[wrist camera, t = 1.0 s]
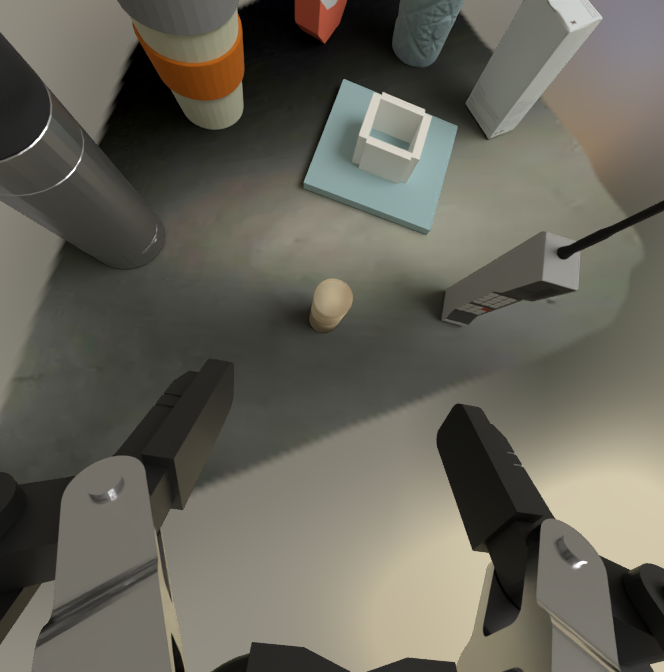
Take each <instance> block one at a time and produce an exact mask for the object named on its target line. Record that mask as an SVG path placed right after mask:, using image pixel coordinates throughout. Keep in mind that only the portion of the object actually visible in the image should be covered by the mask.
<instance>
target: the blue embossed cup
mask: <svg viewBox="0 0 664 672" xmlns="http://www.w3.org/2000/svg"><path fill="white" fill-rule="evenodd" d="M463 2H464V0H400V5H399V12H398V13H399V15H398V18H397V20H396V24H395V29H394V33H393V38H392V47H393V50H394V52H395V54H396V56H397V57H398V58H399V59H400V60H401V61H403V63H405V64H408V65H410V66H413V67H420V68H421V67H427V66H429V65H431V64H432V63H433V62H434V61H435V60H436V59H437V57H438V55H439V53H440V51H441V49H442V47H443V44H444V42H445V40H446V38H447V36H448V34H449V32H450V30H451V28H452V26H453V24H454V22H455V20H456V17H457V15H458V13H459V11H460V9H461V7H462V5H463Z"/></svg>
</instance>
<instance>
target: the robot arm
mask: <svg viewBox="0 0 664 672" xmlns="http://www.w3.org/2000/svg"><path fill="white" fill-rule="evenodd" d="M0 200H1V201H2V202H4V203H5V204H7V205H9V206H10V207H12V208H14V209H15V210H17V211H19V212H21V213H22V214H23V215H25V216H27V217H28V218H30V219H32V220H33V221H35V222H37V223H38V224H40V225H42V226H43V227H45V228H47V229H48V230H50V231H51V232H53V233H55V234H57V235H58V236H60V237H61V238H63V239H65V240H66V241H68V242H70V243H71V244H73V245H75V246H76V247H78V248H79V249H81V250H82V251H84V252H86V253H88V254H89V255H91V256H93V257H94V258H96V259H98V260H99V261H101V262H103V263H104V264H106V265H108V266H111V267H114V268H119V269H132V268H136V267H140V266H142V265H144V264H147V263H148V262H150V261H151V260H153V259H154V258H155V257H156V256H157V255H158V253H159V252H160V250H161V249H162V246H163V243H164V238H165V233H164V227H163V225H162V222H161V221H160V219H159V218H158V217H157V215H156V214H155V213H154V212H153V211H152V209H151V208H150V207H149V206H148V205H147V204H146V202H145V201H144V200H143V199H142V197H141V196H140V195H139V194H138V193H137V192H136V190H135V189H134V188H133V187H132V186H131V184H130V183H129V182H128V181H127V180H126V179H125V177H124V176H123V175H122V174H121V173H120V171H119V170H118V169H117V168H116V167H115V166H114V164H113V163H112V162H111V161H110V160H109V159H108V157H107V156H106V155H105V154H104V153H103V151H102V150H101V149H100V148H99V147H98V146H97V144H96V143H95V142H94V141H93V140H92V138H91V137H90V136H89V135H88V134H87V133H86V131H85V130H84V129H83V128H82V127H81V126H80V125H79V123H78V122H77V121H76V120H75V119H74V117H73V116H72V115H71V114H70V113H69V112H68V110H67V109H66V108H65V107H64V106H63V105H62V103H61V102H60V101H59V100H58V99H57V98H56V96H55V95H54V94H53V93H52V92H51V90H50V89H49V88H48V87H47V86H46V85H45V83H44V82H43V81H42V80H41V79H40V77H39V76H38V75H37V74H36V73H35V71H34V70H33V69H32V68H31V67H30V66H29V64H27V62H26V61H25V60H24V59H23V58H22V56H21V55H20V54H19V53H18V52H17V51H16V50H15V49H14V48H13V46H12V45H11V44H10V43H9V42H8V41H7V39H6V38H5V37H4V36H3V35H2V34H1V33H0ZM233 387H234V365H233V363H232V362H228V361H222V360H216V359H208V360H207V362H206V363H205V364H204V366H203V367H202V369H201V370H200V371H199V372H194V371H188V372H187V373H185V374H183V375H182V376H180V377H179V378H177V379H175V380H174V381H173V383H172V384H171V385H170V386H169V388H168V389H167V390H166V391H165V393H164V395H162V396H161V398H160V399H159V400H158V401H157V403H156V405H155V406H153V408H152V409H151V410H150V411H149V413H148V414H147V415H146V416H145V417H144V419H143V420H142V421H141V422H140V424H139V425H138V426H137V427H136V429H135V430H134V431H133V432H132V434H131V435H130V436H129V437H128V439H127V440H126V441H125V442H124V444H123V445H122V446H121V447H120V449H119V450H118V451H117V452H116V453H115V454H114V455H113V456H112V457H109V458H105V459H103V460H100V461H98V462H96V463H94V464H92V465H90V466H89V467H87V468H85V469H84V470H83V471H81V472H80V473H79V474H78V475H76V476H72V477H67V478H61V479H54V480H47V481H41V482H34V483H27V484H21V485H18V484H17V482H16V481H15V480H14V478H13V477H12V476H11V475H9V474H7V473H4V472H0V644H1V643H2V641H3V640H4V638H5V637H6V635H7V634H8V632H9V631H10V629H11V628H12V626H13V625H14V624H15V622H16V620H17V619H18V618H19V616H20V615H21V613H22V612H23V610H24V608H25V607H26V606H27V604H28V603H29V601H30V599H31V598H32V597H33V595H34V594H35V592H36V591H37V589H38V588H39V586H40V585H41V584H42V583H44V582H48V581H52V580H55V591H54V603H53V610H52V615H51V618H50V620H49V622H48V623H47V624H46V625H45V626H44V627H43V628H42V630H41V632H40V634H39V637H38V640H37V643H36V647H35V651H34V657H33V664H32V672H187V671H186V665H185V659H184V653H183V647H182V641H181V636H180V631H179V626H178V621H177V616H176V611H175V607H174V601H173V596H172V590H171V584H170V578H169V572H168V566H167V560H166V554H165V548H164V542H163V536H162V530H161V526H162V524H163V522H164V520H165V518H166V516H167V514H168V512H169V510H170V508H171V509H179V510H183V509H184V507H185V505H186V503H187V500H188V498H189V496H190V494H191V492H192V490H193V488H194V486H195V483H196V481H197V479H198V477H199V475H200V473H201V471H202V469H203V466H204V464H205V462H206V460H207V458H208V456H209V454H210V451H211V449H212V447H213V445H214V443H215V441H216V439H217V437H218V434H219V432H220V430H221V428H222V426H223V424H224V422H225V420H226V417H227V415H228V413H229V411H230V408H231V405H232V401H233ZM437 448H438V451H439V454H440V456H441V459H442V462H443V465H444V468H445V471H446V474H447V477H448V480H449V483H450V486H451V488H452V491H453V494H454V497H455V500H456V503H457V506H458V509H459V512H460V515H461V518H462V521H463V524H464V526H465V530H466V532H467V535H468V538H469V541H470V544H471V547H472V550H473V551H479V552H486V553H489V554H490V557H491V560H492V561H491V562H490V563H489V565H488V566H487V570H486V575H485V579H484V584H483V588H482V593H481V597H480V602H479V607H478V612H477V616H476V621H475V625H474V630H473V634H472V636H471V639H470V641H469V643H468V644H467V646H466V647H465V649H464V650H463V652H462V654H461V656H460V658H459V660H458V663H457V666H456V664H455V662H446V661H436V660H427V659H417V658H405V659H402V660H399V661H396V662H393V663H391V664H388V665H385V666H382V667H379V668H377V669H374V670H371V671H368V672H654V671H653V669H652V668H651V666H650V664H653V663H657V662H661V661H664V569H663V568H661V567H659V566H657V565H654V564H648V563H646V564H643V565H641V566H638V567H636V568H634V569H632V570H629V569H627V568H625V567H622V566H621V565H618V564H616V563H614V562H612V561H610V560H608V559H606V558H604V557H602V556H600V555H598V553H597V552H596V551H595V549H594V548H593V547H592V545H591V544H590V543H589V542H588V541H587V540H586V539H585V538H584V537H583V536H582V535H581V534H580V533H579V532H578V531H576V530H575V529H574V528H572V527H571V526H569V525H568V524H566V523H564V522H562V521H559V520H556V519H555V518H554V516H553V515H552V513H551V512H550V510H549V508H548V506H547V505H546V503H545V502H544V500H543V498H542V497H541V495H540V493H539V492H538V490H537V488H536V487H535V485H534V484H533V482H532V480H531V479H530V477H529V476H528V474H527V472H526V470H525V469H524V468H523V467H522V466H521V462H520V461H519V459H518V457H517V456H516V455H514V451H513V449H512V447H511V446H510V444H509V443H508V441H507V439H506V438H505V437H504V436H503V435H502V434H501V432H500V431H498V429H497V428H496V427H495V426H494V425H492V424H490V422H489V421H488V419H487V417H486V415H485V414H484V412H483V411H482V409H481V408H479V407H474V406H469V405H464V404H456V405H454V407H453V408H452V409H451V411H450V413H449V414H448V416H447V418H446V419H445V421H444V422H443V424H442V426H441V427H440V429H439V430H438V433H437ZM211 672H350V671H348V670H346V669H344V668H342V667H340V666H339V665H337V664H335V663H333V662H331V661H329V660H327V659H325V658H323V657H322V656H320V655H318V654H316V653H314V652H312V651H310V650H308V649H306V648H304V647H296V646H286V645H276V644H266V643H255V642H252V644H251V649H250V653H249V654H245V655H242V656H239V657H236V658H234V659H232V660H230V661H228V662H226V663H224V664H222V665H220V666H219V667H218V668H216V669H214V670H213V671H211Z"/></svg>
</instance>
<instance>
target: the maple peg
mask: <svg viewBox="0 0 664 672" xmlns="http://www.w3.org/2000/svg"><path fill="white" fill-rule="evenodd" d="M352 301H353V295H352V291H351V289H350V288H349V286H348V285H347V284H346V283H345V282H343V281H341V280H338V279H327V280H324V281H323V282H321V283H320V284H319V285H318V286H317V288H316V290H315V293H314V298H313V302H312V307H311V312H310V317H309V321H310V324H311V326H312V328H313V329H314V330H316V331H317V332H320V333H328V332H331V331H332V330H333V329H334V328H335V327H336V326H337V325H338V323H339V322H340V321H341V319H342V318H343V317H344V315H345V314H346V313H347V311H348V310H349V309H350V307H351V305H352Z"/></svg>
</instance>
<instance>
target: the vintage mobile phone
mask: <svg viewBox="0 0 664 672" xmlns="http://www.w3.org/2000/svg"><path fill="white" fill-rule="evenodd" d="M662 211H664V201H662V202H659V203H658V204H655V205H654V206H651V207H649V208H647V209H646V210H643V211H641V212H639V213H637V214H635V215H633V216H631V217H629V218H627V219H625V220H623V221H621V222H619V223H616V224H614V225H612V226H610V227H607V228H604V229H601V230H599V231H597V232H595V233H593V234H591V235H589V236H587V237H585V238H583V239H580V240H578V241H574V240H571V239H568V238H564V237H561V236H558V235H555V234H551V233H548V232H545V231H542V232H540V233H538V234H537V235H535V236H533V237H532V238H530V239H528V240H527V241H525V242H523V243H522V244H520V245H518V246H517V247H515V248H514V249H512V250H510V251H509V252H507V253H505V254H504V255H502V256H500V257H499V258H497V259H495V260H494V261H492V262H490V263H489V264H487V265H485V266H484V267H482V268H480V269H479V270H477V271H475V272H474V273H472V274H471V275H469V276H467V277H466V278H464V279H462V280H461V281H459V282H457V283H456V284H454V285H452V286H451V287H449V288H447V289H446V292H445V299H444V305H443V312H442V318H441V320H442V321H445V322H449V323H453V324H456V325H460V326H464V327H465V326H468V325H469V324H470V323H471V322H472V321H473V320H474V319H475V318H477V317H478V316H480V315H482V314H485V313H488V312H491V311H494V310H497V309H499V308H502V307H505V306H508V305H511V304H514V303H517V302H519V301H522V300H527V301H537V300H541V299H545V298H549V297H554V296H558V295H562V294H566V293H571V292H575V291H577V290H578V282H579V264H580V251H581V250H583V249H585V248H587V247H590V246H592V245H594V244H596V243H598V242H600V241H603V240H605V239H607V238H608V237H610V236H612V235H613V234H615V233H616V232H619V231H621V230H623V229H625V228H627V227H630V226H632V225H634V224H636V223H638V222H640V221H643V220H644V219H647V218H649V217H651V216H653V215H655V214H658V213H660V212H662Z"/></svg>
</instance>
